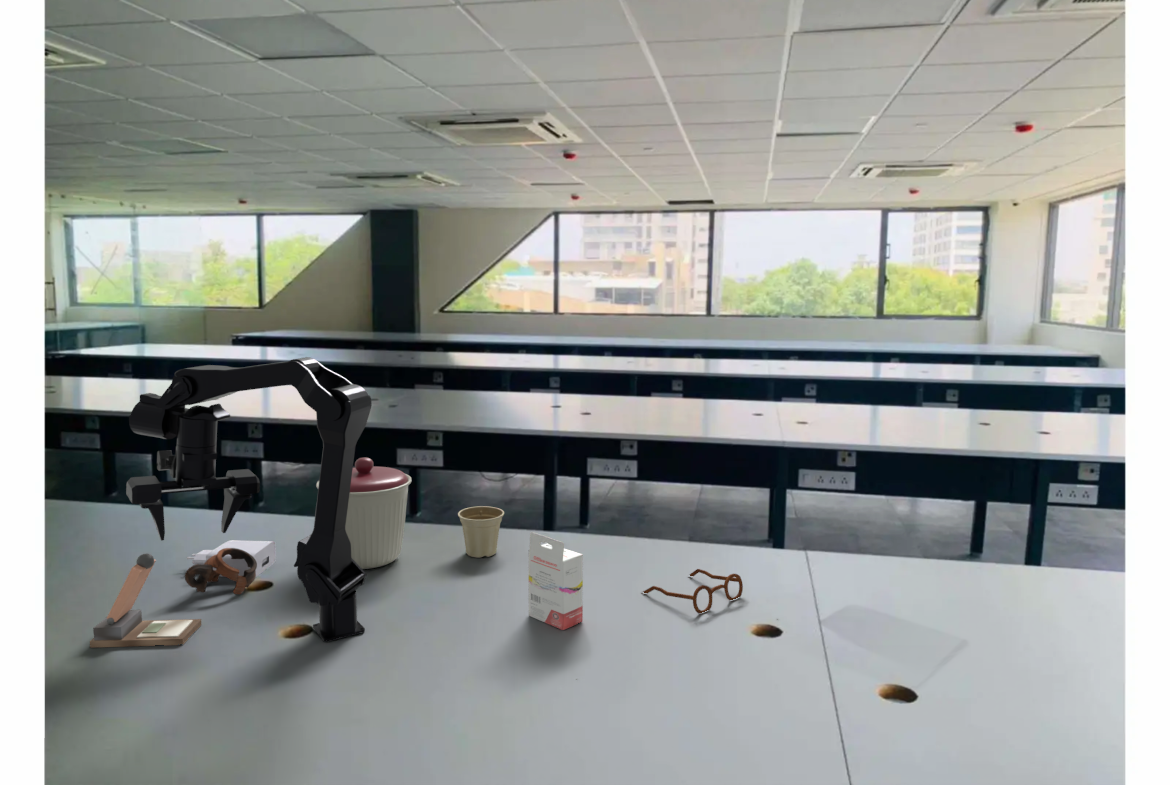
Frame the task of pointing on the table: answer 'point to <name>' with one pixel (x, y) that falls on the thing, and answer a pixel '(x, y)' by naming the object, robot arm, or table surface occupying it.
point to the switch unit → (142, 631)
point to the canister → (376, 513)
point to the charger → (258, 549)
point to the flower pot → (481, 529)
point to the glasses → (710, 591)
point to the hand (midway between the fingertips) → (193, 535)
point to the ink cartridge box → (555, 582)
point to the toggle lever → (131, 588)
